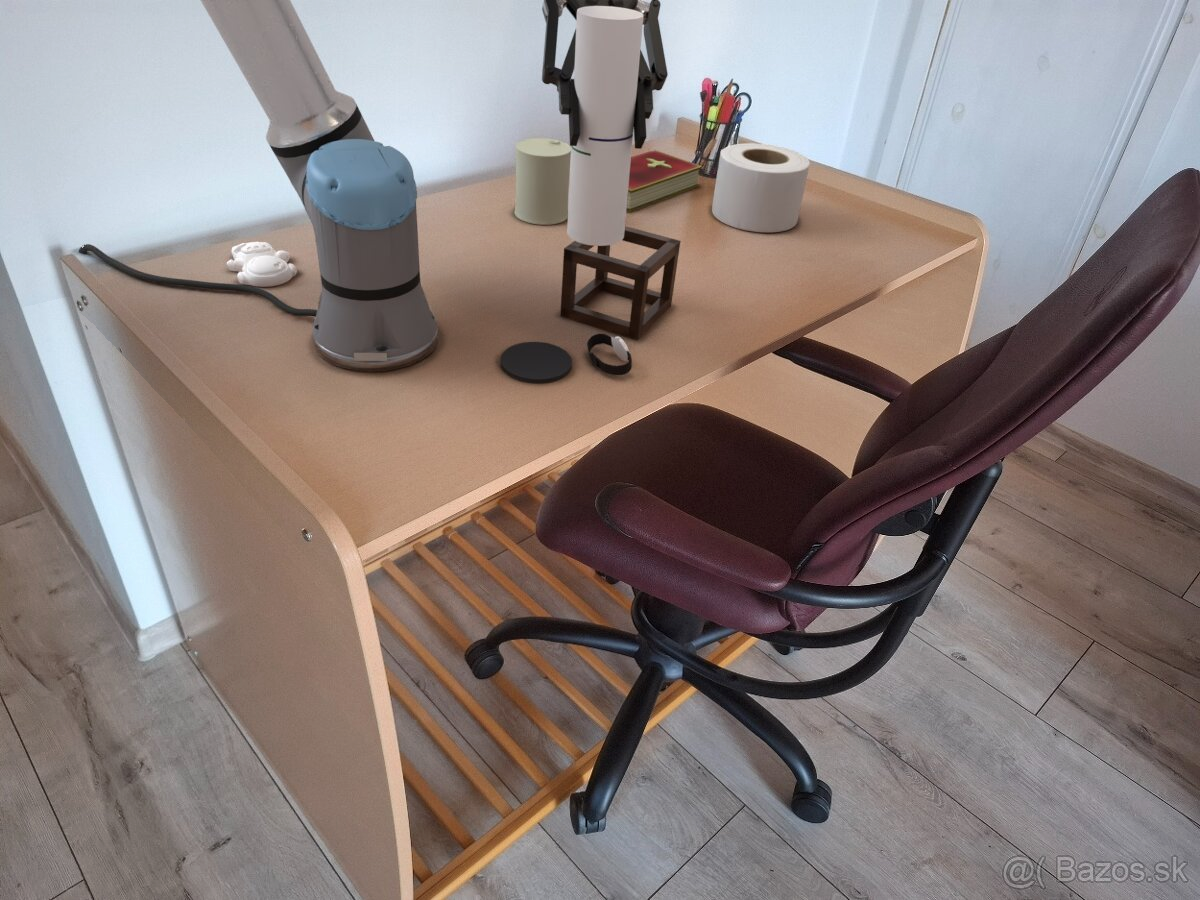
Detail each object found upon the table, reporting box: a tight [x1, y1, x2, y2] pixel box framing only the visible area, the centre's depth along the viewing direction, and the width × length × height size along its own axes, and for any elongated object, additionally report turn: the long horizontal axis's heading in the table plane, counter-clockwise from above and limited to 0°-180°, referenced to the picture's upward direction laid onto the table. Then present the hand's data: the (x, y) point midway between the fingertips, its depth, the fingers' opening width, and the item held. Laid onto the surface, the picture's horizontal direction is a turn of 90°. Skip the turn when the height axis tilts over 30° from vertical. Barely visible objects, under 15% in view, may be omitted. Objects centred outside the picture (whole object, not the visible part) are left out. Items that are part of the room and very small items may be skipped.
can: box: [514, 137, 571, 226], centre depth 140 cm, size 9×9×12 cm
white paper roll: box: [711, 142, 811, 234], centre depth 147 cm, size 16×15×11 cm
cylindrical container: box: [566, 6, 644, 247], centre depth 97 cm, size 7×7×25 cm
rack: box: [559, 225, 681, 341], centre depth 115 cm, size 12×12×10 cm
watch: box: [586, 332, 633, 376], centre depth 105 cm, size 8×5×4 cm, turn 33°
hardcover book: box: [626, 149, 703, 213], centre depth 155 cm, size 12×21×4 cm, turn 139°
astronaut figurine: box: [226, 241, 298, 288], centre depth 118 cm, size 9×12×3 cm
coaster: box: [499, 341, 573, 384], centre depth 105 cm, size 9×9×1 cm
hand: (608, 141), depth 94 cm, fingers closed on cylindrical container, 7 cm apart
